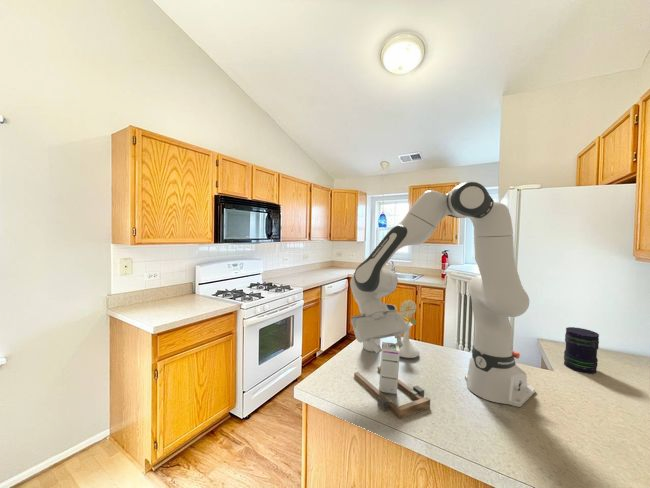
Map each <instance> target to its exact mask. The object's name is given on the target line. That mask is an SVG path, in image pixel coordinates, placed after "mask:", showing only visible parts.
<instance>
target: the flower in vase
mask: <svg viewBox="0 0 650 488" xmlns="http://www.w3.org/2000/svg"><path fill="white" fill-rule="evenodd" d="M416 312H417V304H416V303H415V301H413V300H412V299H410V300H409V299H408V300H404V301H403V302H401V304H400V305H399V313H400V315H401V316H402V318H403V319H405V320H406V321H405V323H406V325H407V331H406V332H405V333H404V334H403V337H402V339H401V342H402V344H403V347H401V348H399V350H400V355H399V357H401V358H405V359H412V358H413V359H414V358H417V357H418V356H420V350H419V349H418V347H417V346H416V345H414V344H413V342H411V340H410V331H411V327H412V326H414V325H415V326H416V325H418V323H417V321H416V318H414V317H413V315H415V314H416ZM408 318H410V319H408Z"/></svg>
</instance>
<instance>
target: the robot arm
mask: <svg viewBox="0 0 650 488" xmlns="http://www.w3.org/2000/svg"><path fill="white" fill-rule="evenodd" d="M446 217H450V218H456V219H461V218H463V219H465V218H466V219H467V218H469V219H470V221H471V223H472V225H473V240H474V241H473V242H474V243H473V244H474V247H473V248H474V261H475V263H476V264H477V268H478V270H479V274H478V275H475V276H473V277H472V278H471V280H470V281H469V284H468V292H469V294H470V299H471V306H472V313H473V320H474V333H473V334H474V335H473V336H474V339H473V345H472V348H471V357H470V358H469V364H468V370H467V373H465V374H464V379H465V381H466V387H467V388H468V390H469V391H471V393H473V394H475V395H476V396H477V397H480V398H481V399H484V400H486V401H490V402H493V403H497V404H506V405H510V406H513V407H518V408H519V407H522V406H523V405H524V404H525V403H526V402H527V401H528V400H529V399H530V398H531V397H532V396H533V395H534V394H535V393H536V388H534V386H532V385H531V384H530V383H528V379H527V378H528V376H527V375H528V374H527V373H526V371H524V369H523V368H521V367H520V366H519V365H518V364H517V363H516V359H517V360H518V359H519V358H521V354H520V352H518V351H515V350H513V349H514V348H513V346H514V345H513V344H514V329H513V327H512V324H511V322H510V318H516V317H517V318H518V317H520V316H522V315H523V314H525V313H526V312H527V310H528V309H529V307H530V298H529V297H530V296H529V294H528V293H527V292H526V291H525V289H524V287H523V285H522V282H521V279H520V276H519V272H518V268H517V265H516V260H515V251H514V231H513V223H512V221H513V220H512V217H511V212H510V210H509V208H508V206H507V205H505V204H504V203H501V202H498V201H497V202H495V201H494V199H493V197H492V195H490V194H489V192H488V190H487V188H486V187H485V186H484V185H483V184H481V183H479V182H476V181H465V182H462V183H460V184H459V185H456V186H455V187H454V188H452V189H451V190H450V191H448V192H447V193H441V192H440V191H437V190H433V189H432V190H431V189H430V190H426V191H424V192H423V193H422V194H421V195H420V196H419V197H418V198H417V199H416V201H415V202H414V203H413V205H412V206H411V208H410V209H409V211H407V214H405V216H404V217H403V219H402V220H401V221H400V222H399V223H397V225H396V226H394V227H392V228H391V229H390V230H389V231H388V232H387V234H386V235H385V236H384V237H383V238H382V240H381V241H380V242H379V243H378V245H376V247H375V248H374V250H372V252H371V253H370V254H369V256H368V257H367V258H365V260H364V261H362V262H361V263H360V264H359V265H358V266H357V267H356V269H355V270H354V275H352V277H351V279H350V283H349V286H350V290H351V294H352V295H353V299H354V300H355V302H356V303H357V305H358V310H359V313H360V314H356V315H352V317H351V318H350V323H351V326H352V328H353V332H354V333H353V334H354V336H355V339H356V341H357V343H363V342H366V341H368V343H369V344H370V345H371V346H372V347H373V348H374V349H375V353H376V354H378V353H379V354H380V353H382V346H381V344H380V345H379V346H378V345H377V344H376V343H375V342H374V341H375V340H376V339H380V340H381V339H385V338H391V337H394V338H395V339H396V343H395V344H398V345H399V348H401V347H403V344H402V342H401V341H402V335H404V333H405V332H406V331H407V325H406V323H405V322H406V321H405V320H404V318H403V316H402V315H401V314H400V312H398V308H397V306H396V305H395V304H389V303H386V302H382V300H381V298H384V297H387V296H389V295H391V294H393V293H394V292H395V291H396V290H397V287H398V284H399V279H398V277H397V274H396V273H395V272H394V271H392V270H390V269H387V268H385V266H386V265H387V263H388V262H389V261H390V260H391V258H393V256H394V255H395V254H396V253H397V251H398V250H400V249H402V248H404V247H407V246H417V245H421V244H424V243H425V242H427V241H428V240H429V238H431V236H432V235H433V234H434V232H435V231H436V229H437V228H438V226H439V224H440V222H442V221H443V219H444V218H446Z"/></svg>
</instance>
